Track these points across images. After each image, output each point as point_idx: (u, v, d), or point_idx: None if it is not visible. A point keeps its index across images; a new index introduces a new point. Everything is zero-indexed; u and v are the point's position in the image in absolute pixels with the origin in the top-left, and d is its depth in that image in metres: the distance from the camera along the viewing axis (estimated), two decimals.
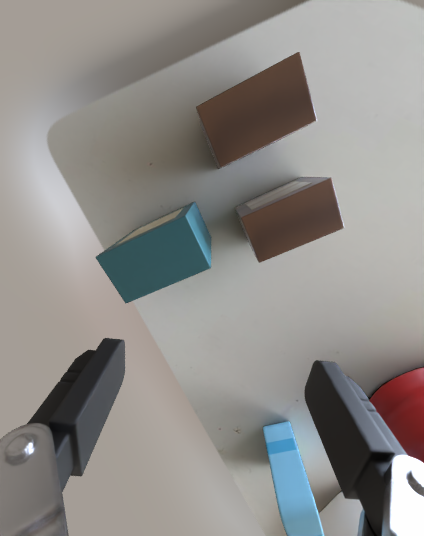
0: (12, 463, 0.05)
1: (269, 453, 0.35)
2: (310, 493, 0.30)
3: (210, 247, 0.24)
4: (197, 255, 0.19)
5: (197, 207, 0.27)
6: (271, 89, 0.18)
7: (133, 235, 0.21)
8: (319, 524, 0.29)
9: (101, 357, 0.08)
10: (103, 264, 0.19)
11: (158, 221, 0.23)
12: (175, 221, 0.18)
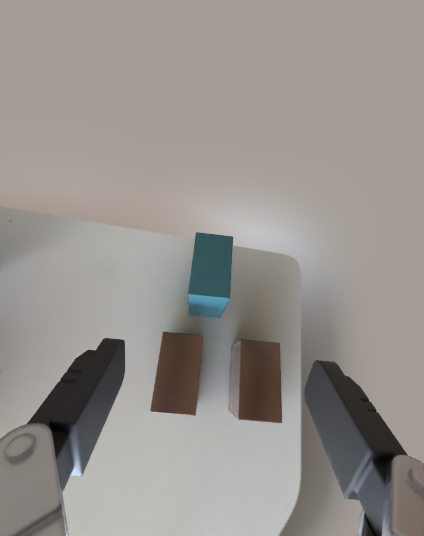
0: (12, 463, 0.05)
1: None
2: None
3: (190, 306, 0.31)
4: (201, 291, 0.27)
5: (215, 316, 0.36)
6: (269, 394, 0.26)
7: None
8: None
9: (101, 357, 0.08)
10: (226, 237, 0.30)
11: None
12: (229, 291, 0.27)
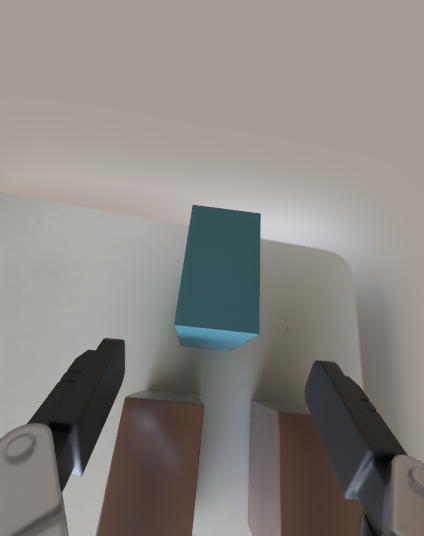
0: (12, 463, 0.05)
1: None
2: None
3: (181, 338, 0.18)
4: (201, 318, 0.13)
5: (223, 349, 0.22)
6: None
7: None
8: None
9: (101, 357, 0.08)
10: (249, 215, 0.16)
11: None
12: (257, 318, 0.13)
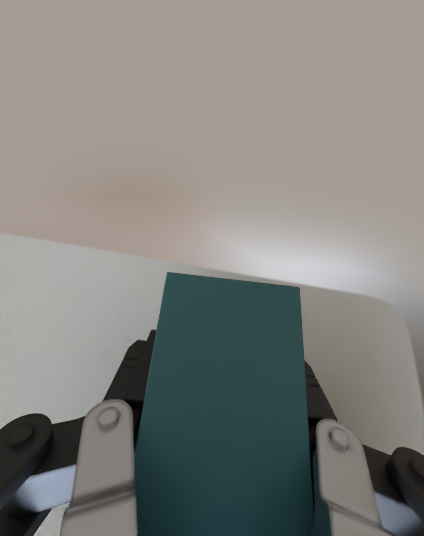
0: (105, 431, 0.06)
1: None
2: None
3: None
4: None
5: None
6: None
7: None
8: None
9: (153, 346, 0.09)
10: (277, 291, 0.08)
11: None
12: None
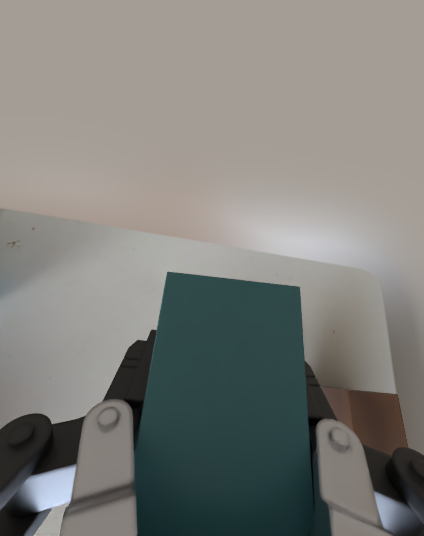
0: (105, 430, 0.06)
1: None
2: None
3: None
4: None
5: None
6: None
7: None
8: None
9: (153, 346, 0.09)
10: (278, 291, 0.08)
11: None
12: None
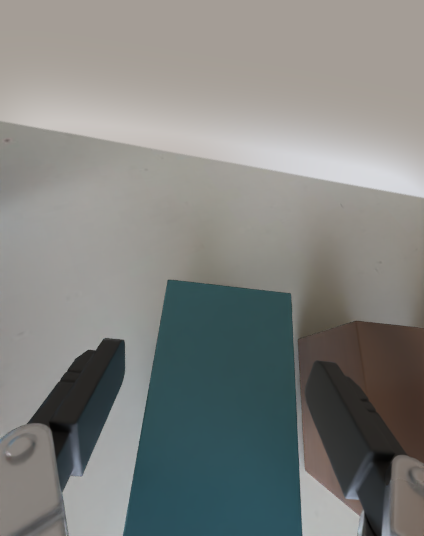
0: (12, 463, 0.05)
1: None
2: None
3: None
4: None
5: None
6: None
7: None
8: None
9: (101, 357, 0.08)
10: (270, 297, 0.09)
11: None
12: None
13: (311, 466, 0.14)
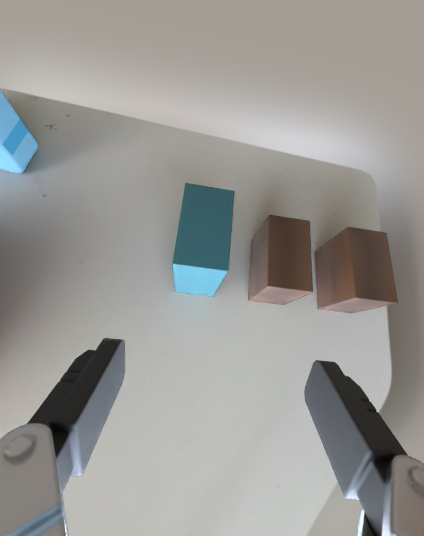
0: (12, 463, 0.05)
1: (20, 120, 0.28)
2: None
3: (176, 281, 0.24)
4: (190, 260, 0.20)
5: (207, 295, 0.29)
6: (382, 277, 0.25)
7: None
8: None
9: (101, 357, 0.08)
10: (226, 191, 0.22)
11: None
12: (227, 261, 0.20)
13: (250, 295, 0.29)
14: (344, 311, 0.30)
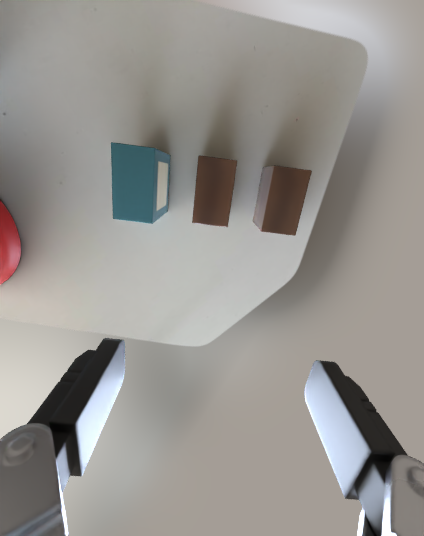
0: (12, 463, 0.05)
1: None
2: None
3: None
4: (124, 215, 0.28)
5: None
6: (290, 215, 0.31)
7: (159, 174, 0.29)
8: None
9: (101, 357, 0.08)
10: (147, 149, 0.25)
11: (163, 189, 0.32)
12: (151, 216, 0.28)
13: None
14: None
